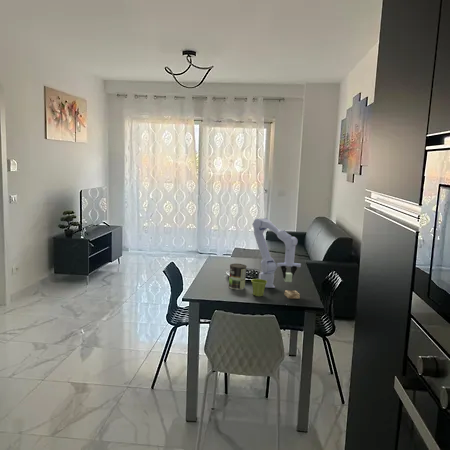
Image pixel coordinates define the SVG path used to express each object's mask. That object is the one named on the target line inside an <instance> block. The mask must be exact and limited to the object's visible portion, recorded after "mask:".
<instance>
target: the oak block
mask: <svg viewBox="0 0 450 450" xmlns="http://www.w3.org/2000/svg"><path fill="white" fill-rule="evenodd" d="M300 295H301V294H300V293H299V292H298V291H297V290H284V296H285V297H286V298H287V299H300V297H301V296H300Z"/></svg>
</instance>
